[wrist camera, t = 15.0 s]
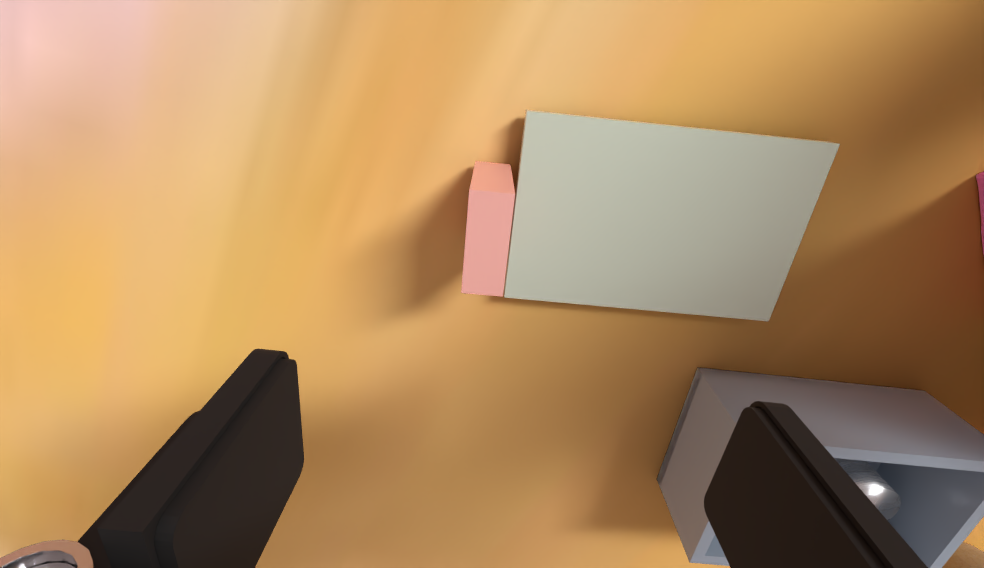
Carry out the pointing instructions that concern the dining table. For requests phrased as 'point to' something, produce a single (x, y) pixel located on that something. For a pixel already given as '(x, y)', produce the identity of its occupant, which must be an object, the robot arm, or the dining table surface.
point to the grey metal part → (872, 486)
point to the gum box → (981, 202)
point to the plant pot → (966, 557)
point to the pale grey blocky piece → (643, 216)
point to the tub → (835, 453)
